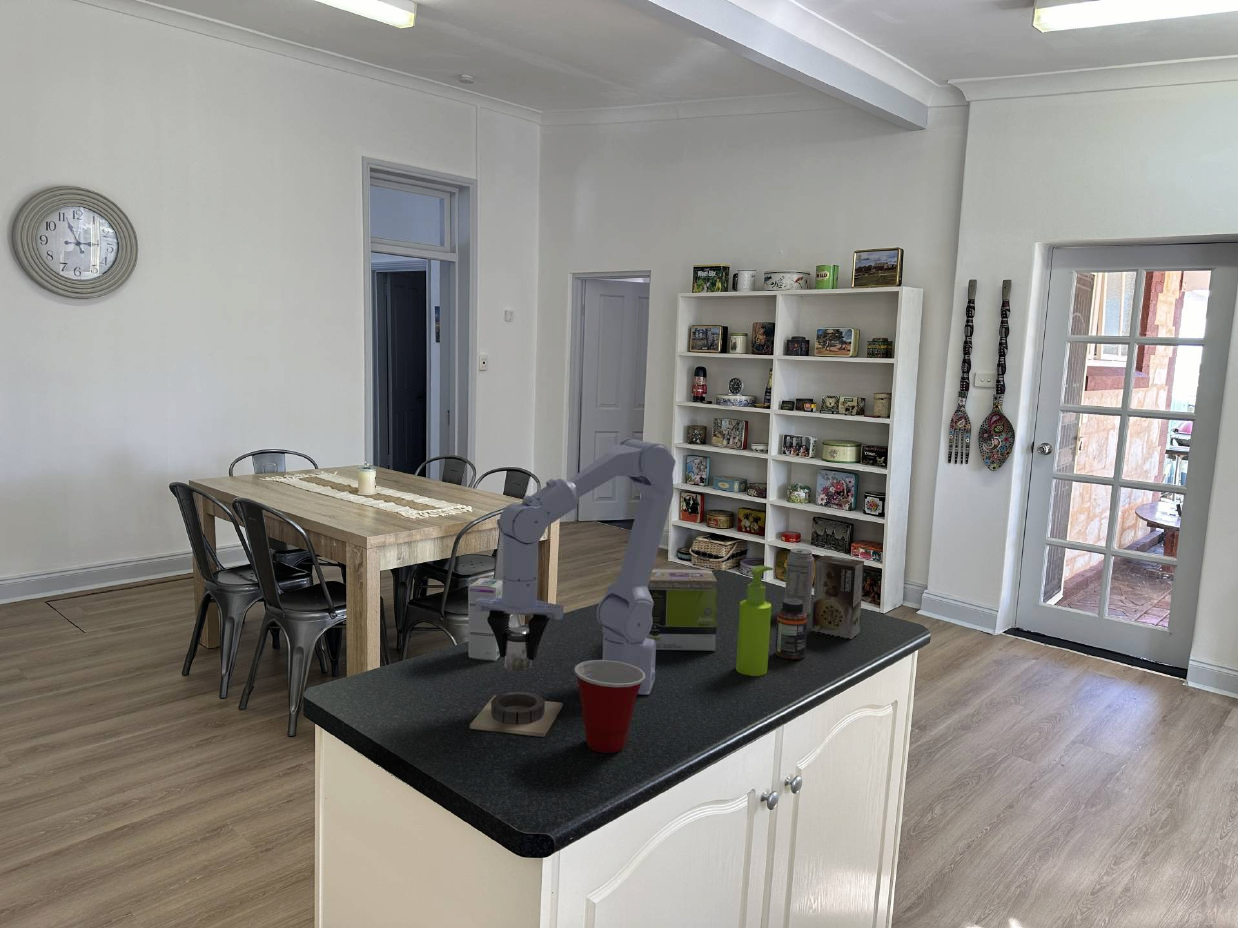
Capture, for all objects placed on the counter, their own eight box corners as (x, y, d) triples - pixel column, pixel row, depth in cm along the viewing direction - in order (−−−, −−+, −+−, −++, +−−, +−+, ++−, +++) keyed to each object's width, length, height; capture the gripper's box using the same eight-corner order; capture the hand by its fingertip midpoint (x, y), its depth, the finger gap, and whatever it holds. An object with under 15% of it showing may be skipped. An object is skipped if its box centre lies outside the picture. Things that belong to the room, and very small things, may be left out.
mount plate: (562, 706, 148) (562, 691, 148) (543, 736, 136) (544, 720, 136) (493, 698, 150) (494, 684, 150) (469, 728, 138) (470, 712, 138)
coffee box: (860, 632, 193) (865, 560, 191) (851, 640, 187) (856, 566, 185) (820, 624, 198) (825, 553, 195) (810, 631, 192) (814, 559, 190)
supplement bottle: (782, 648, 181) (785, 594, 179) (809, 654, 177) (813, 600, 176) (769, 656, 176) (773, 601, 174) (797, 663, 172) (801, 607, 171)
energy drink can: (814, 614, 205) (819, 551, 203) (801, 619, 200) (806, 555, 198) (792, 608, 209) (796, 546, 207) (778, 613, 204) (782, 550, 202)
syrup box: (496, 661, 167) (497, 587, 166) (466, 658, 169) (467, 584, 167) (506, 651, 173) (507, 579, 171) (477, 648, 174) (478, 576, 172)
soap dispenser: (776, 669, 169) (782, 567, 166) (755, 678, 164) (761, 573, 161) (750, 661, 172) (756, 561, 170) (729, 669, 167) (735, 567, 165)
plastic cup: (656, 750, 133) (660, 674, 131) (595, 767, 127) (598, 687, 125) (617, 723, 142) (620, 652, 140) (559, 737, 136) (561, 663, 134)
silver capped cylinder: (534, 662, 148) (535, 628, 147) (527, 672, 144) (528, 636, 143) (508, 660, 149) (509, 625, 148) (501, 669, 144) (501, 634, 144)
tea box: (709, 636, 187) (712, 568, 185) (715, 652, 177) (719, 581, 175) (638, 634, 186) (641, 566, 184) (641, 650, 176) (644, 578, 174)
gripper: (469, 579, 142) (468, 660, 143) (556, 587, 139) (554, 669, 141) (484, 568, 148) (482, 646, 150) (567, 575, 146) (565, 654, 148)
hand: (518, 656), depth 146 cm, fingers closed on silver capped cylinder, 4 cm apart
